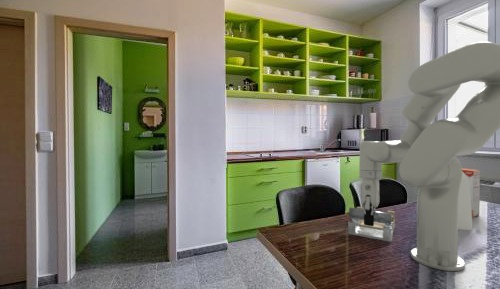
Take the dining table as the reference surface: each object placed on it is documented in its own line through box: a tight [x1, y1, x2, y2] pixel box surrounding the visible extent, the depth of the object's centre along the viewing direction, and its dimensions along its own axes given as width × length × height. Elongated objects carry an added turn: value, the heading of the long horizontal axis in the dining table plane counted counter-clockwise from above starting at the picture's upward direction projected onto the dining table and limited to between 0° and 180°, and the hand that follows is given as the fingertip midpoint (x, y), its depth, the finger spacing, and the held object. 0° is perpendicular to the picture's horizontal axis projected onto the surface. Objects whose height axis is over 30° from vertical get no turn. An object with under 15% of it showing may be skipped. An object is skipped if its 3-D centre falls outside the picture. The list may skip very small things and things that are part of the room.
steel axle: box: [348, 207, 392, 225], centre depth 94 cm, size 4×14×4 cm, turn 57°
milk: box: [458, 171, 474, 231], centre depth 103 cm, size 12×12×26 cm
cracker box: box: [462, 167, 481, 218], centre depth 118 cm, size 14×6×21 cm, turn 25°
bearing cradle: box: [356, 206, 396, 233], centre depth 102 cm, size 8×14×6 cm, turn 57°
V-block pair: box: [347, 218, 394, 243], centre depth 94 cm, size 8×14×4 cm, turn 57°
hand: (369, 222), depth 94 cm, fingers closed on steel axle, 4 cm apart
